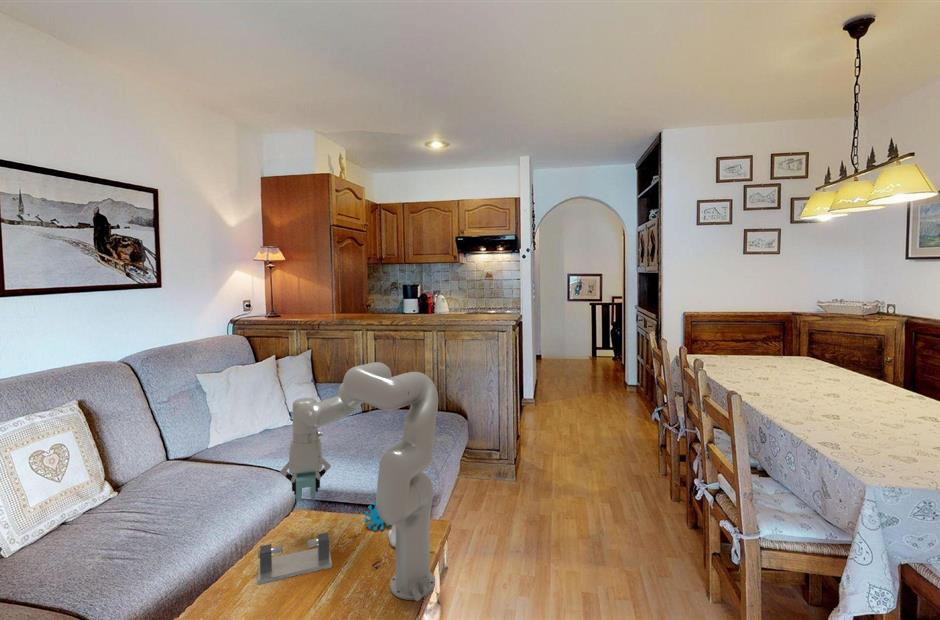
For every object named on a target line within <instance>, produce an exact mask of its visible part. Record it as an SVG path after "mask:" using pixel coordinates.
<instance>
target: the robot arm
mask: <svg viewBox="0 0 940 620" xmlns="http://www.w3.org/2000/svg"><path fill="white" fill-rule="evenodd" d="M362 404H367V405H369V406H372V407H375V408H377V409H380V410H381V411H382V410H383V411H388V412H389V411H390V412H391V411H395V410H398V409H400V408H404V407H406V406H409V405H410V407H409V410H408V412H407V414H406V416H405V420H404V424H403V434H402V439H401V441H400V443H398V444H396V445H394V446H392V447H391V448H389V449H388V450H386V452H384V453H383V455H382V457H381V459H380V462H379V465H378V466H379V468H378V474H377V475H378V476H377V486H376V487H377V489H376V496H375V497H376V498H375V499H376V500H375V502H376V507H377V512H378V514H379V516H380V518H381V519H382V521H383V522H384V524H385V525H386V524H389V526H392V525H396V547H395V573H394V575H393V576H392V577H391V579H390V582H389V588H390V592H391V593H392V594H393V595H394V596H395V597H396V598H399V599H401V600H402V599H403V600H405V601H406V600H408V601H409V600H410V601H411V600H412V601H414V600H415V601H416V602H418V601H420V600H421V599H422V598H424V597H426V596H428V595H429V594H431V592H433V590H434V589H435V586H436V578H435V575H434V574H433V572H431V570H430V566H431V564H430V563H431V561H430V560H431V559H430V557H431V556H430V552H431V551H430V550H431V549H430V548H431V547H430V545H431V543H430V541H431V540H430V539H431V537H430V535H431V533H430V532H431V510H432V505H433V499H434V486H433V483H432V480H431V478H430V477H429V476H428V475H427V474H425V473H424V472H425V471H426V470H427V469H428V468H429V467H430V465H431V464H432V461H433V455H434V454H433V452H434V442H435V434H436V433H435V432H436V431H435V430H436V421H437V414H438V410H439V393H438V390H437V387H436V385H435V383H434V382H433V380H432V379H431V378H430V377H429V376H428V375H427V374H425V373H423V372H419V371H409V372H405V373H400V374H397V375H395V376H392V370H391V369H390V367H389V366H388V365H387V364H385V363H383V362H379V361H378V362H377V361H376V362H369V363H365V364H360V365H356V366H353V367H351V368H349V369H348V370H347V372H346V373H345V375H344V377H343V381H342V383H341V384H340V385H339V388H338V394H337V395H335V396H334V397H330V398H327V399H324V400H320V401H317V400H316V399H315V398H313V397H302V398H301V397H300V398H298V399H295V400H293V403H292V440H290V443H289V450H288V451H289V454H288V456H289V457H288V462H287V463H286V464H285V465H284V466H283V468H281V469H280V474H281V475H282V476H284V477H285V479H287V480H288V481H290V483H291V492H294V496H296V477H297V474H300V473H309V472H314V473H315V475H316V493H318V492H319V488H321V479H322V477H323V476H324V475H325V474H326V473H327V472H328V470H330V469H331V464H330V463H329V462H328V461H327V460H326V459H325V458H324V457H323V449H322V442H321V441H322V440H321V438H320V437H322V436H323V431H319V428H321V427H324V426H327V425H329V424H331V423H334V422H337V421H340V420H343V419H344V418H346V417H348V416H349V415H351V414H353V413H354V412H356V411H357V410H358V409H360V407H361V405H362ZM288 470H289V471H288Z"/></svg>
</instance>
